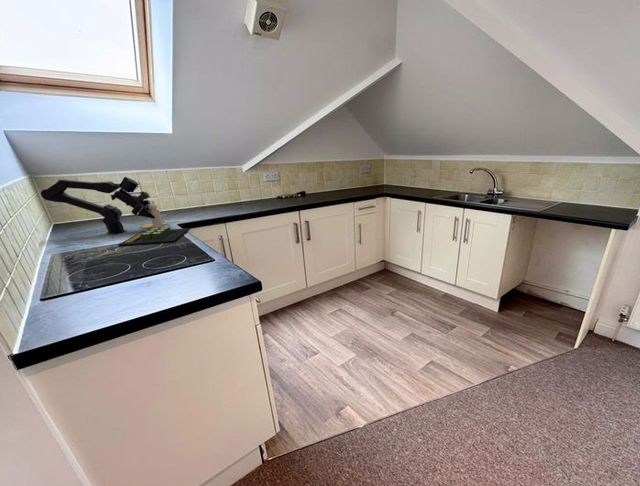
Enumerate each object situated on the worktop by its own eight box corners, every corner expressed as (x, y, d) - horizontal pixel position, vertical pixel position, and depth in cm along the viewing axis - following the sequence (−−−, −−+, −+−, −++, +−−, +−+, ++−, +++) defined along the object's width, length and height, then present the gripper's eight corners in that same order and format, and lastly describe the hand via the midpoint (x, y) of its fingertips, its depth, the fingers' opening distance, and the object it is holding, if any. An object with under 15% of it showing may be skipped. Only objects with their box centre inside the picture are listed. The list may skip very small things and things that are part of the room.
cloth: (148, 228, 178) (148, 227, 178) (140, 227, 181) (140, 226, 181) (168, 223, 188) (167, 223, 188) (160, 222, 191) (160, 222, 191)
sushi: (142, 232, 169) (140, 226, 168) (190, 229, 174) (188, 223, 172) (118, 246, 147) (116, 239, 145) (174, 242, 151) (172, 235, 150)
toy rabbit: (162, 229, 176) (153, 200, 169) (152, 229, 175) (143, 201, 169) (165, 226, 181) (157, 199, 174) (156, 227, 180) (147, 199, 173)
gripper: (131, 189, 159) (161, 208, 167) (141, 185, 175) (168, 202, 183) (119, 206, 160) (149, 223, 168) (130, 200, 175) (157, 217, 184)
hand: (156, 216), depth 175 cm, fingers open, 9 cm apart
